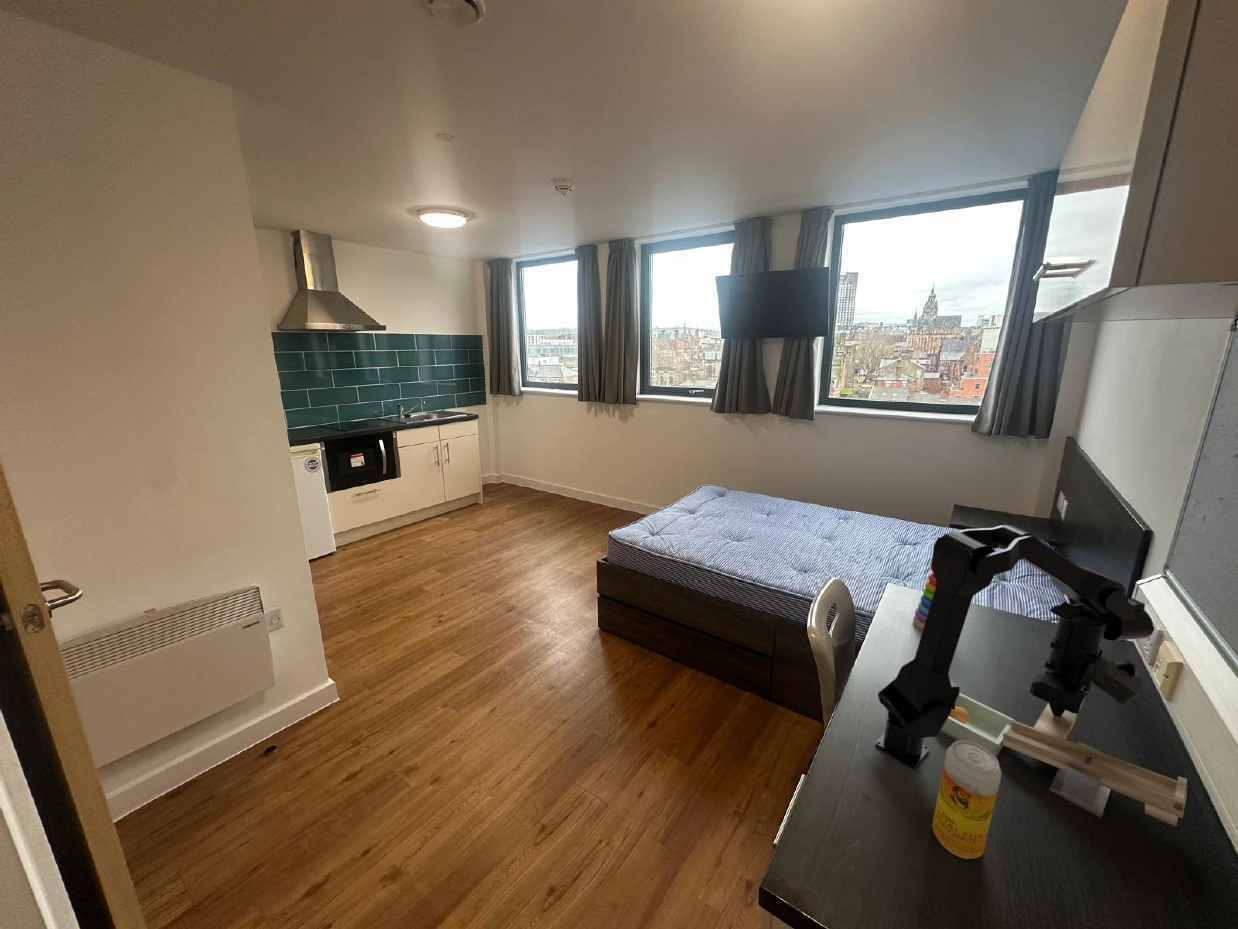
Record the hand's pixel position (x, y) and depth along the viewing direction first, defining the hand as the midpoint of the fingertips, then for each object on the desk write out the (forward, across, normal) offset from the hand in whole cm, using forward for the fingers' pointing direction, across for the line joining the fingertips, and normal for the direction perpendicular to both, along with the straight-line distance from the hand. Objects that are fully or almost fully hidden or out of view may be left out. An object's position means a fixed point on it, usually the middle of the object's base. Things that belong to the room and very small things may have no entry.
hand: (1056, 715), depth 87 cm
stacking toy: (+4, +20, +27) cm, 34 cm away
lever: (+2, -5, -6) cm, 8 cm away
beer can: (+4, -36, +3) cm, 36 cm away
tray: (+4, -11, +9) cm, 15 cm away
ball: (+2, -11, +11) cm, 16 cm away
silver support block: (+4, -11, -6) cm, 13 cm away
